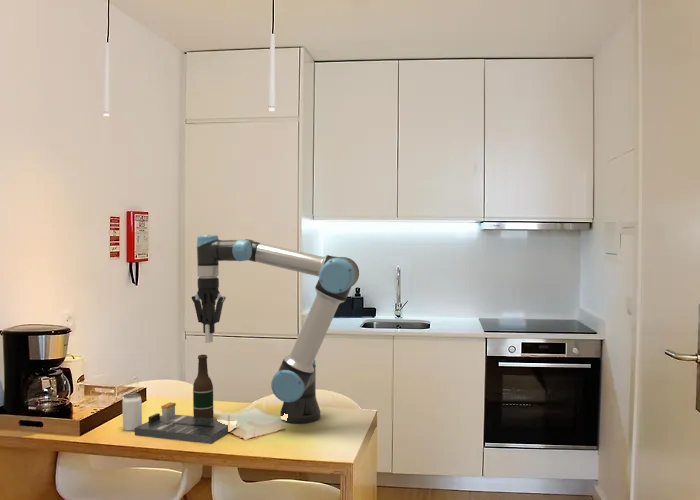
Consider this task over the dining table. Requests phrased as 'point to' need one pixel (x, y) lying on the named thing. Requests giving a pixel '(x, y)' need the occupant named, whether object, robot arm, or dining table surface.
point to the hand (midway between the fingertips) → (209, 342)
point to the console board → (183, 428)
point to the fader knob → (168, 412)
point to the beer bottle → (203, 391)
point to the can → (132, 411)
